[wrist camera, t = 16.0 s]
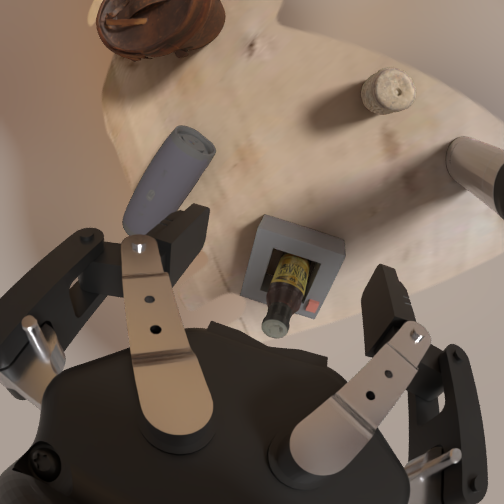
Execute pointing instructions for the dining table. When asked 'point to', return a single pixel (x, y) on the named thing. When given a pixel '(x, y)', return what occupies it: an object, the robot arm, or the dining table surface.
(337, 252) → the bottle socket block
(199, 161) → the bluetooth speaker
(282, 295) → the sauce bottle
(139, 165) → the dining table surface
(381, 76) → the carving
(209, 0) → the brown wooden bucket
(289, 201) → the dining table surface
